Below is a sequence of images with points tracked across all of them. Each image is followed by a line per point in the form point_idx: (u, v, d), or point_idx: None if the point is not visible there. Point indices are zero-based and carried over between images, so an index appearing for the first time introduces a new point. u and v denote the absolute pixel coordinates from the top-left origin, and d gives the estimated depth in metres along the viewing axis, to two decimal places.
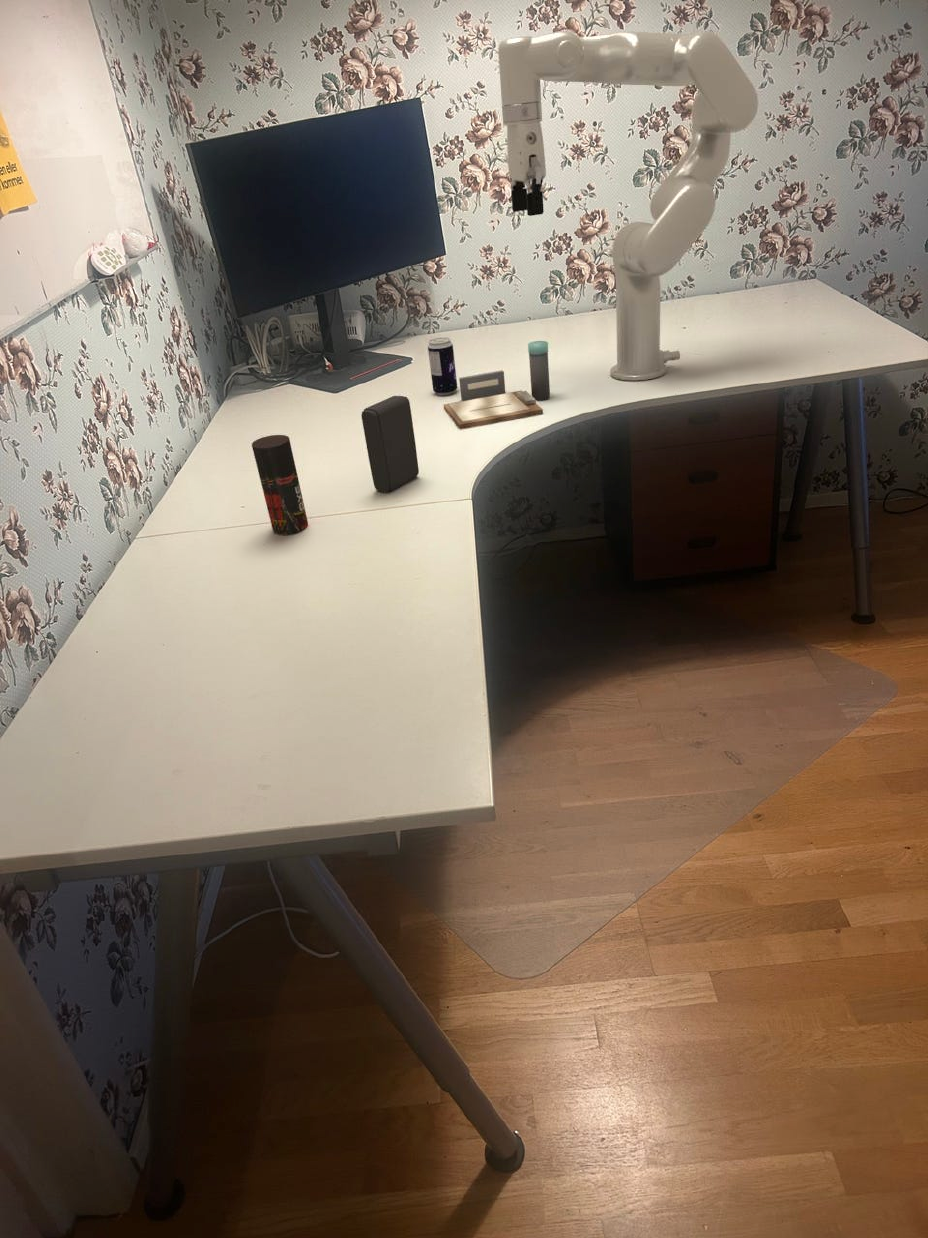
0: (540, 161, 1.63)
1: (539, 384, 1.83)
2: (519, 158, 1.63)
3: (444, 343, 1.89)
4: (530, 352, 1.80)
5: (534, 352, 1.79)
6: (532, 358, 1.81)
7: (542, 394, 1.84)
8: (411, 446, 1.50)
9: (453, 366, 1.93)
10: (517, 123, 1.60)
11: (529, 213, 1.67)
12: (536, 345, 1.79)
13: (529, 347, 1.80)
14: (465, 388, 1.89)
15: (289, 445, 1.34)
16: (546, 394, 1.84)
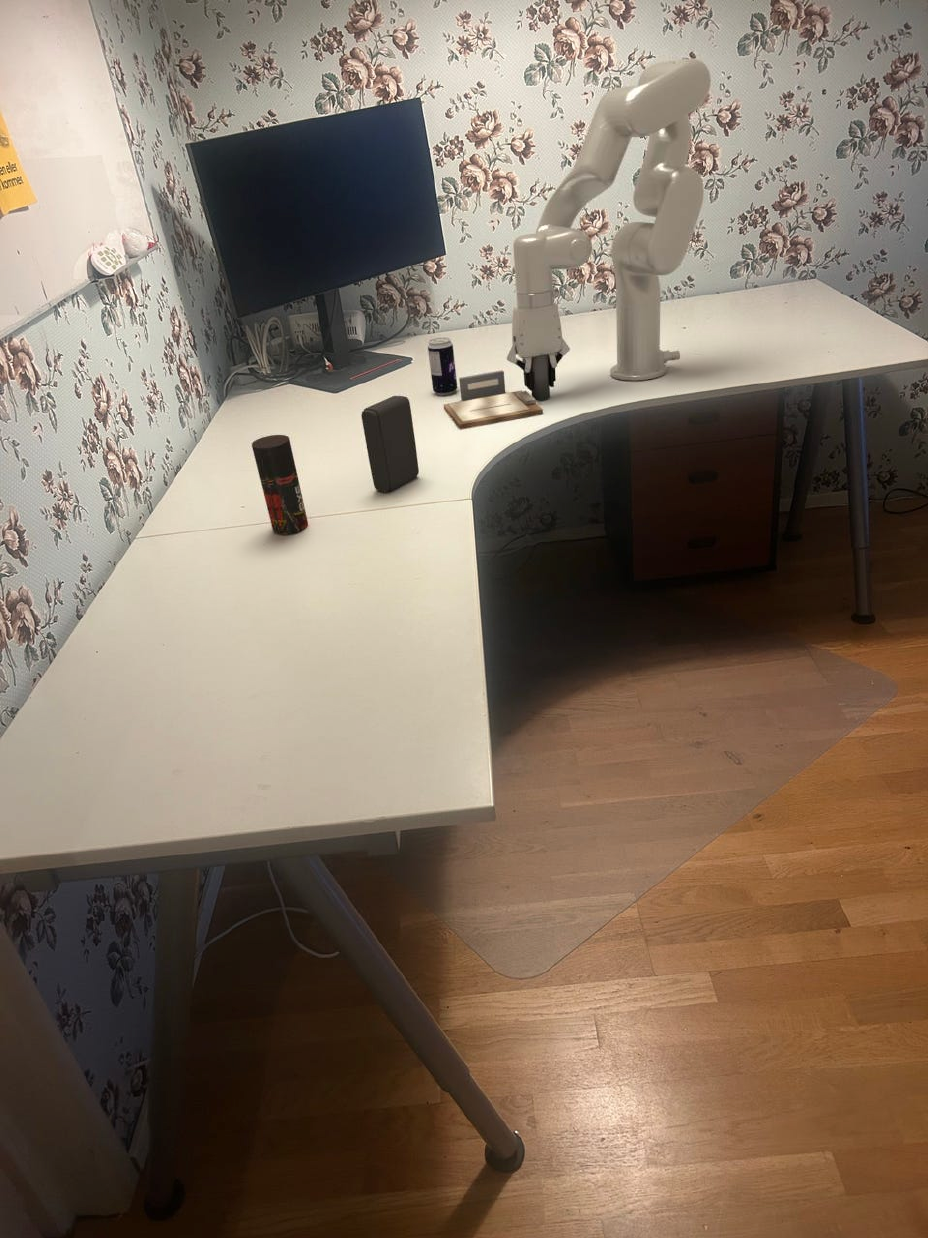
0: None
1: (539, 384, 1.83)
2: (557, 333, 1.78)
3: (444, 343, 1.89)
4: None
5: None
6: (532, 358, 1.81)
7: (542, 394, 1.84)
8: (411, 446, 1.50)
9: (453, 366, 1.93)
10: (553, 305, 1.75)
11: None
12: None
13: None
14: (465, 388, 1.89)
15: (289, 445, 1.34)
16: (546, 394, 1.84)
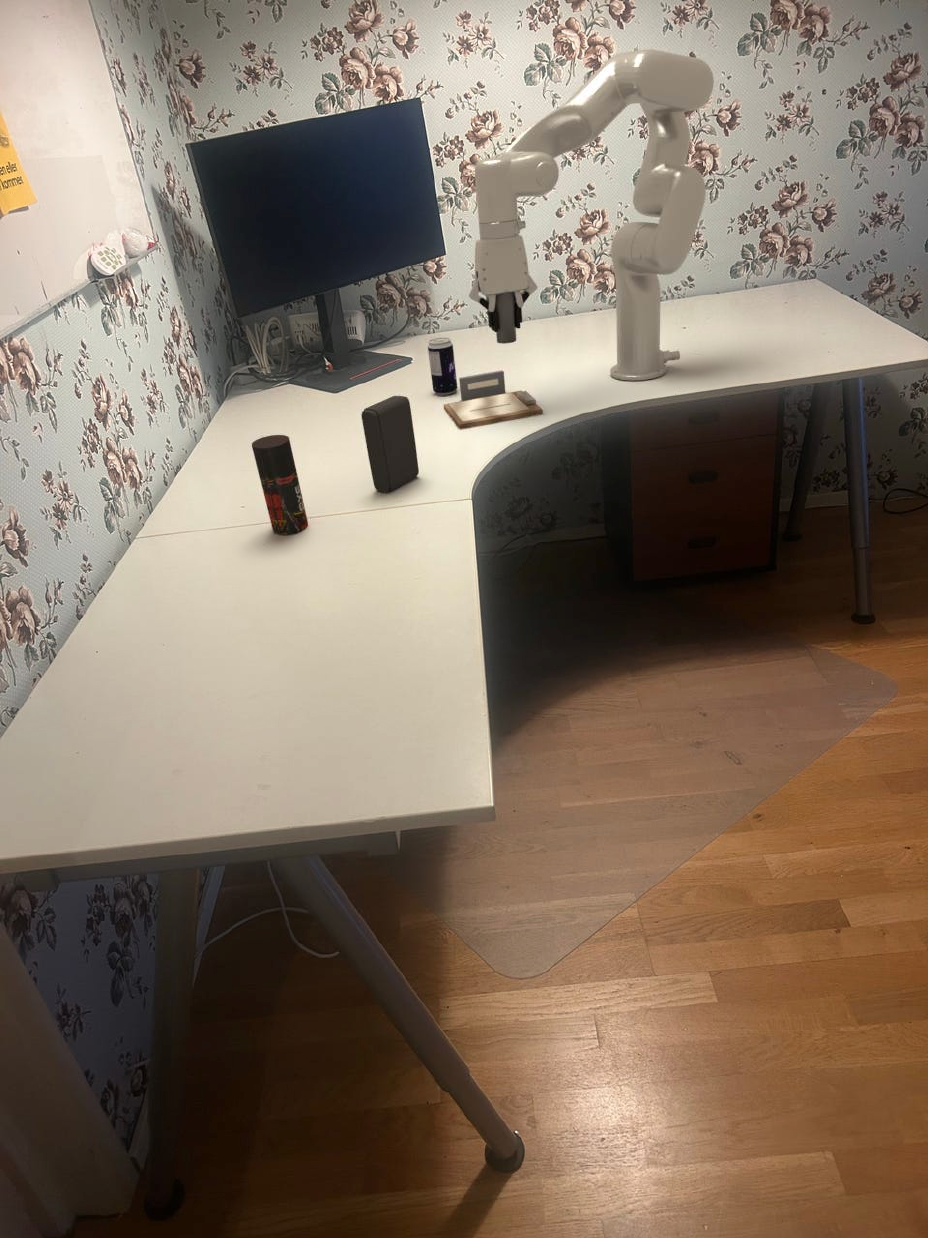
0: None
1: (504, 324, 1.70)
2: (522, 268, 1.65)
3: (444, 343, 1.89)
4: None
5: None
6: (496, 295, 1.68)
7: (507, 336, 1.71)
8: (411, 446, 1.50)
9: (453, 366, 1.93)
10: (518, 236, 1.62)
11: None
12: None
13: None
14: (465, 388, 1.89)
15: (289, 445, 1.34)
16: (511, 336, 1.71)
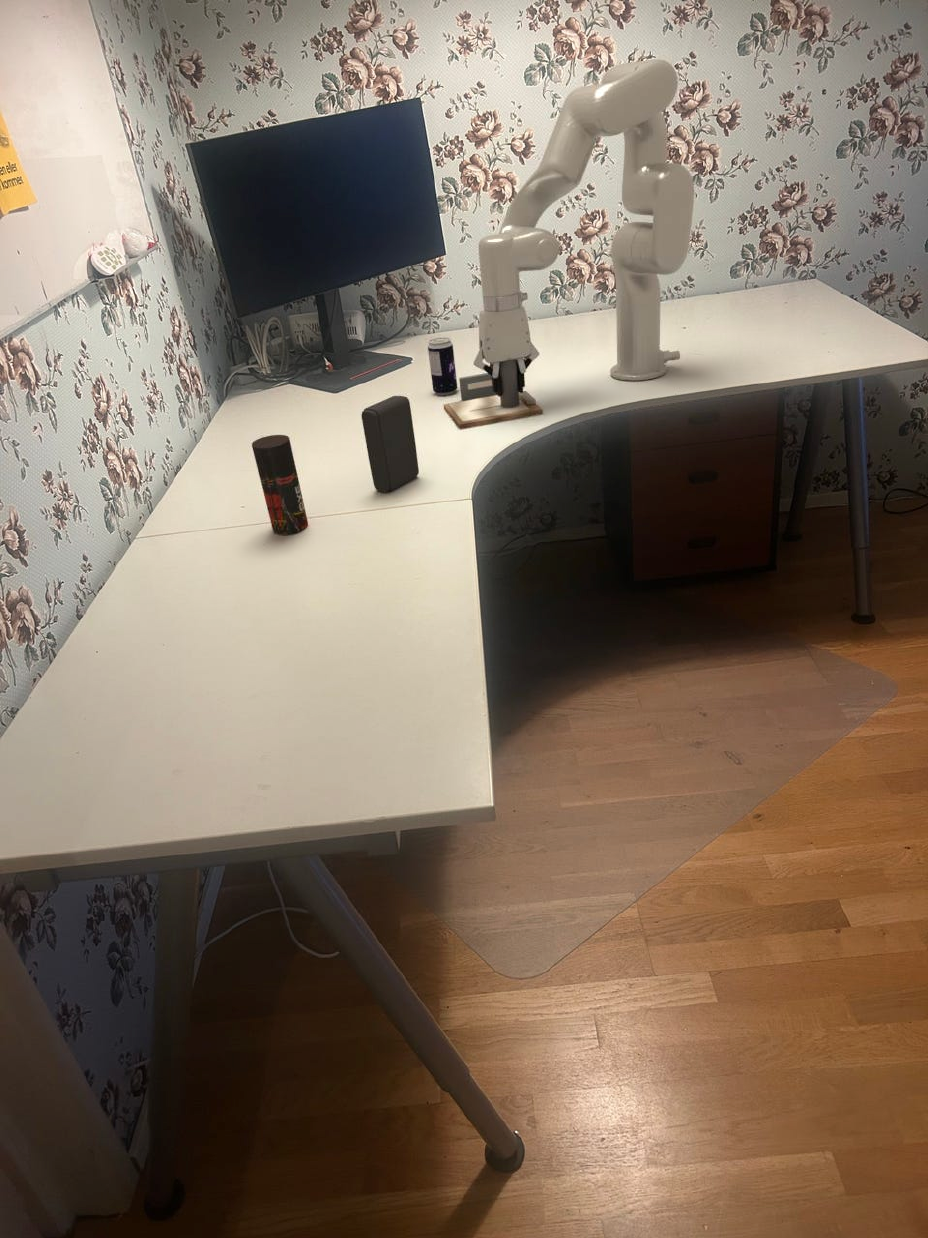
0: None
1: (507, 389, 1.77)
2: (525, 337, 1.72)
3: (444, 343, 1.89)
4: None
5: None
6: (500, 363, 1.74)
7: (511, 400, 1.78)
8: (411, 446, 1.50)
9: (453, 366, 1.93)
10: (520, 308, 1.69)
11: None
12: None
13: None
14: (465, 388, 1.89)
15: (289, 445, 1.34)
16: (514, 400, 1.78)
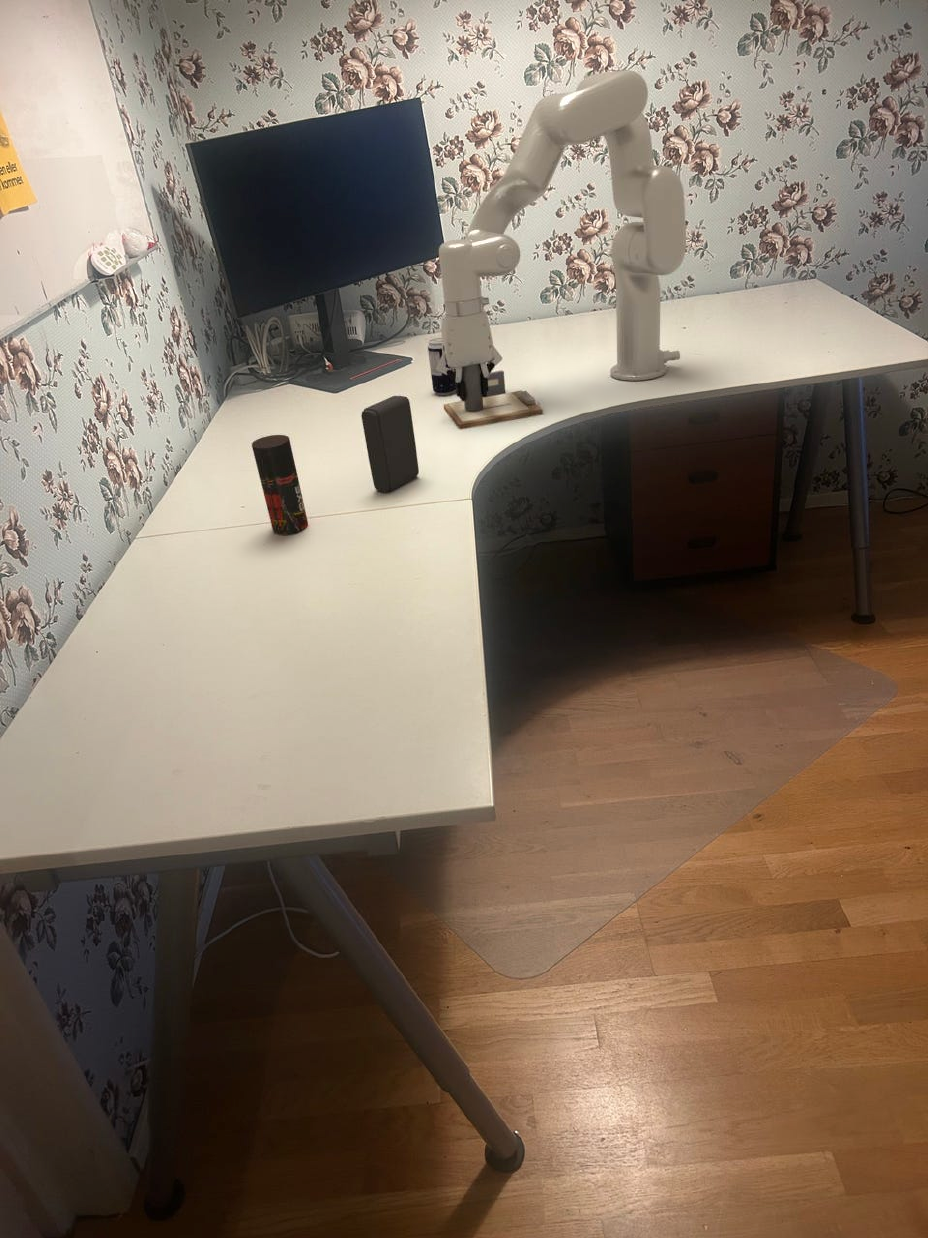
0: None
1: (471, 394, 1.77)
2: (487, 342, 1.72)
3: None
4: None
5: None
6: (462, 367, 1.75)
7: (474, 405, 1.78)
8: (411, 446, 1.50)
9: None
10: (482, 313, 1.69)
11: None
12: None
13: None
14: None
15: (289, 445, 1.34)
16: (478, 404, 1.78)
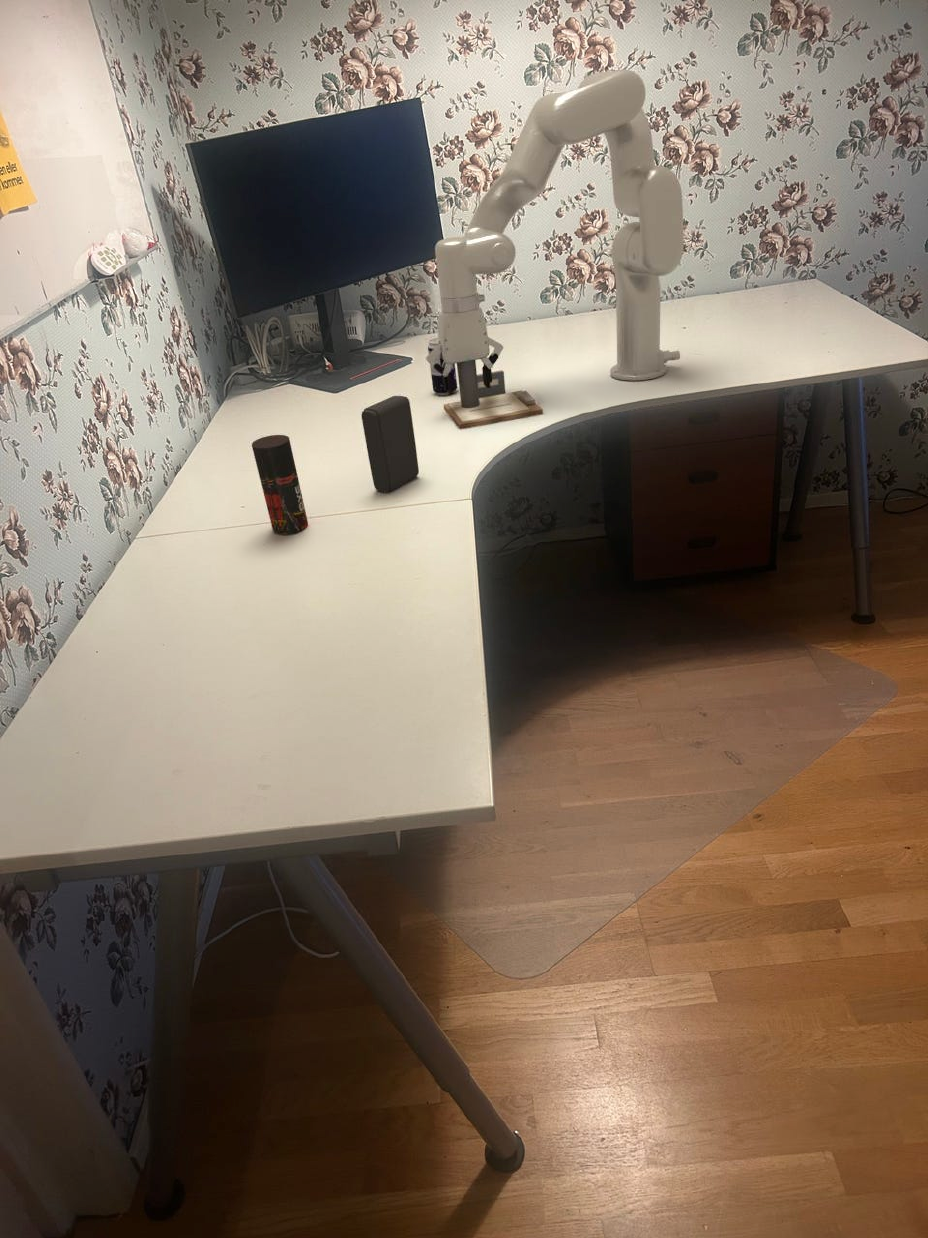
0: None
1: (467, 391, 1.80)
2: (483, 338, 1.75)
3: None
4: None
5: None
6: (459, 365, 1.78)
7: (471, 401, 1.81)
8: (411, 446, 1.50)
9: (453, 366, 1.93)
10: (477, 309, 1.72)
11: None
12: None
13: None
14: None
15: (289, 445, 1.34)
16: (474, 401, 1.81)
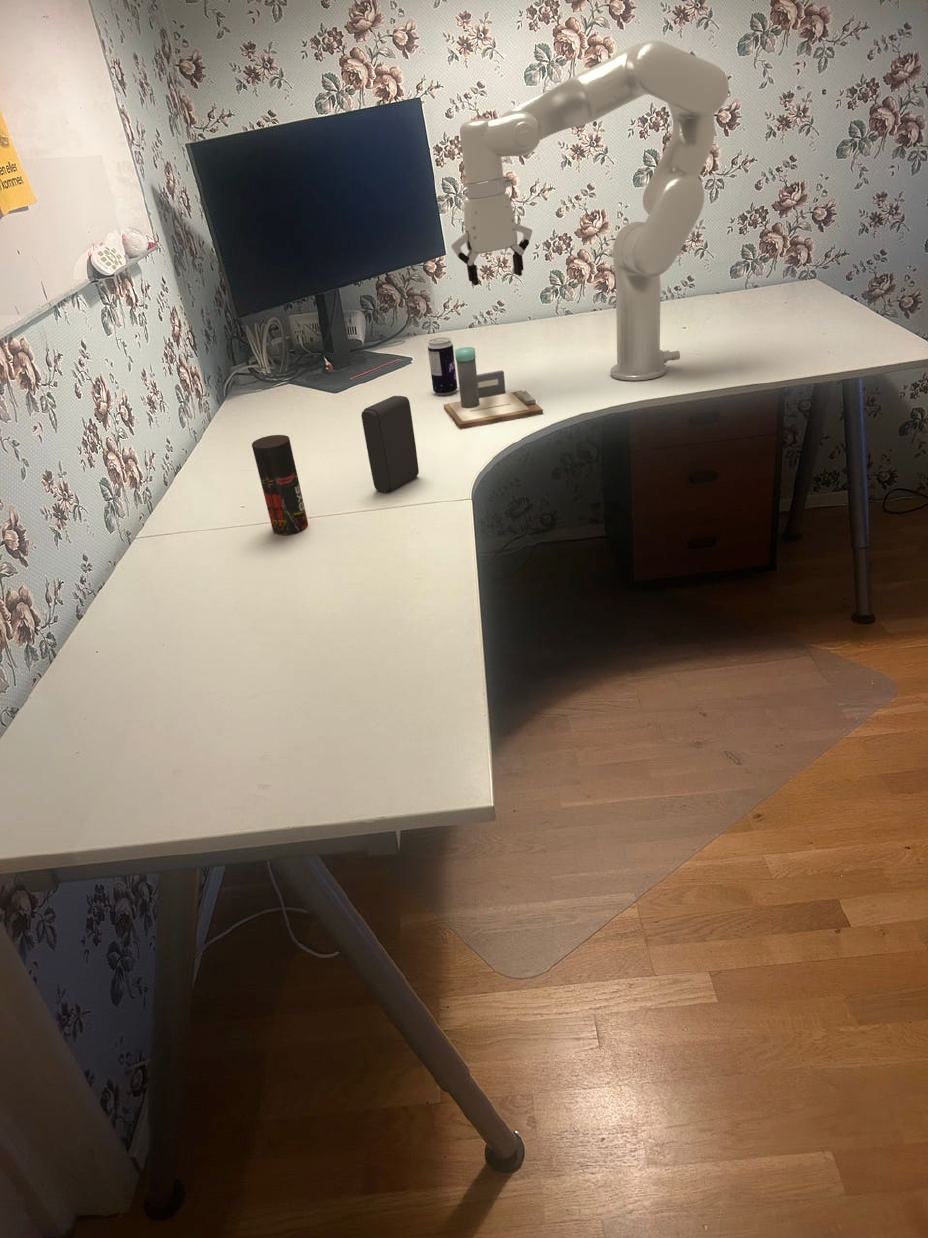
0: None
1: (467, 391, 1.80)
2: (510, 225, 1.73)
3: (444, 343, 1.89)
4: (457, 359, 1.77)
5: (461, 359, 1.76)
6: (459, 365, 1.78)
7: (471, 401, 1.81)
8: (411, 446, 1.50)
9: (453, 366, 1.93)
10: (505, 194, 1.70)
11: None
12: (462, 352, 1.76)
13: (456, 354, 1.77)
14: None
15: (289, 445, 1.34)
16: (474, 401, 1.81)
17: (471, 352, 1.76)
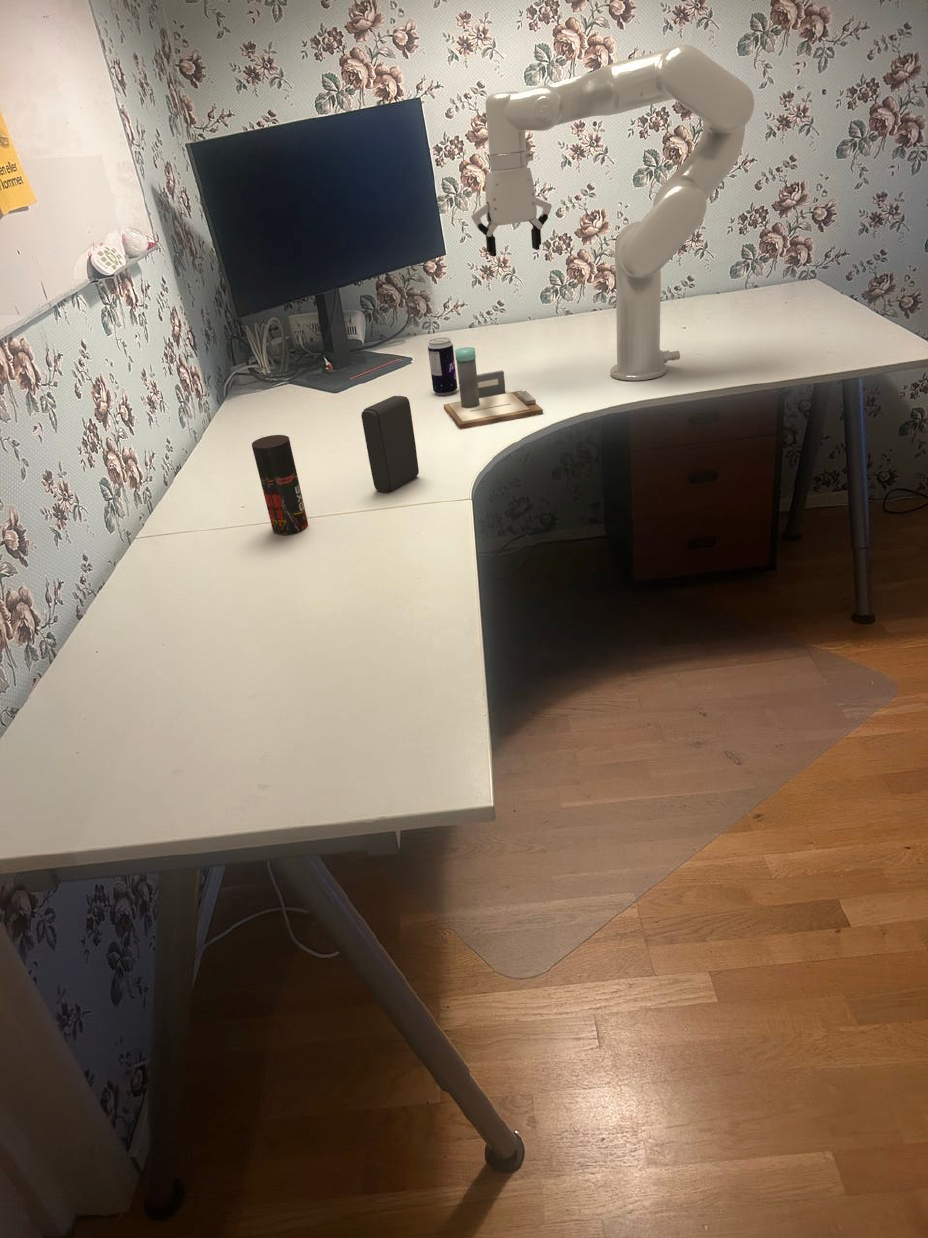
0: None
1: (467, 391, 1.80)
2: (530, 199, 1.76)
3: (444, 343, 1.89)
4: (457, 359, 1.77)
5: (461, 359, 1.76)
6: (459, 365, 1.78)
7: (471, 401, 1.81)
8: (411, 446, 1.50)
9: (453, 366, 1.93)
10: (526, 167, 1.73)
11: None
12: (463, 352, 1.76)
13: (456, 354, 1.77)
14: None
15: (289, 445, 1.34)
16: (474, 401, 1.81)
17: (471, 352, 1.76)
